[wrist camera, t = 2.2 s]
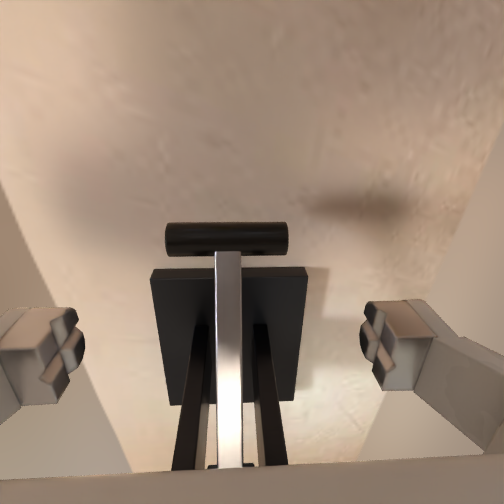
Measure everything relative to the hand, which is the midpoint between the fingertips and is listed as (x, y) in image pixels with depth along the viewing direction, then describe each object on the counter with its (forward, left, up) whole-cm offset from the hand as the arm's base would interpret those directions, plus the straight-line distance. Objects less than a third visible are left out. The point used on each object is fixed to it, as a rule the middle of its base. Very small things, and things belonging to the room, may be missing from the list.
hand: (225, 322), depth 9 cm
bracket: (+10, 0, -11) cm, 15 cm away
